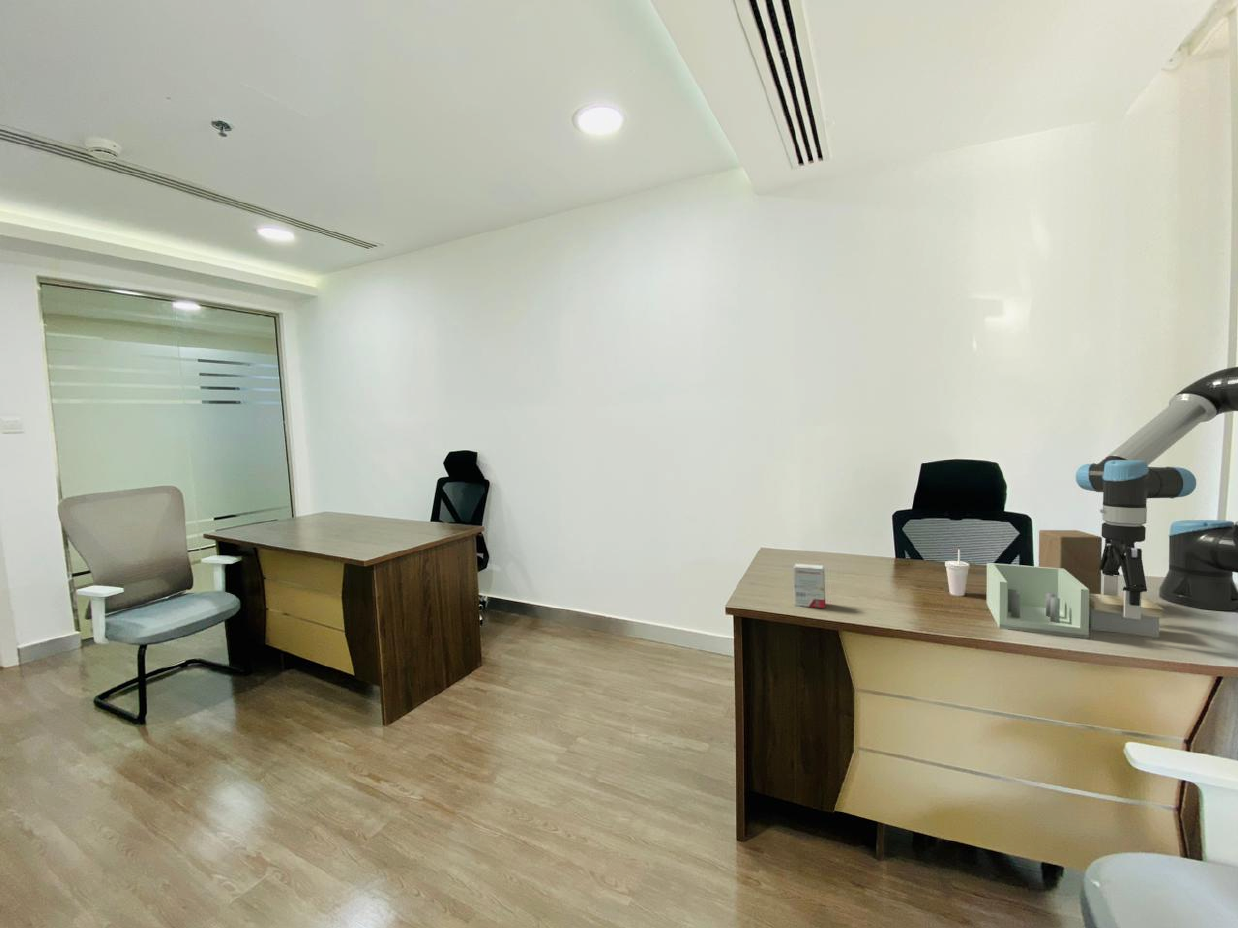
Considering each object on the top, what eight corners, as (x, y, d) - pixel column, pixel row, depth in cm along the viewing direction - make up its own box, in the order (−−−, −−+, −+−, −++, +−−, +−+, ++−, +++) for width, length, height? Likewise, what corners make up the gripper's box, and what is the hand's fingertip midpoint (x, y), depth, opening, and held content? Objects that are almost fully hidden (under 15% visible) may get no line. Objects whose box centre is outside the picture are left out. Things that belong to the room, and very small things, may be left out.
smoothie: (962, 598, 148) (962, 552, 147) (940, 593, 154) (940, 548, 153) (974, 594, 151) (974, 549, 150) (952, 589, 157) (952, 545, 156)
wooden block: (1101, 608, 137) (1102, 536, 136) (1059, 606, 139) (1060, 536, 138) (1076, 596, 147) (1077, 529, 146) (1037, 595, 149) (1038, 529, 148)
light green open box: (1063, 611, 135) (1063, 568, 135) (1088, 639, 118) (1089, 589, 117) (986, 603, 143) (986, 562, 143) (999, 627, 126) (999, 581, 125)
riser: (1151, 631, 121) (1151, 609, 121) (1158, 637, 117) (1159, 614, 117) (1085, 623, 127) (1086, 602, 126) (1091, 629, 123) (1091, 607, 123)
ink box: (825, 603, 148) (825, 564, 148) (825, 608, 144) (824, 569, 143) (795, 600, 152) (794, 562, 151) (793, 605, 147) (793, 566, 147)
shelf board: (1148, 606, 122) (1148, 598, 122) (1163, 617, 115) (1163, 609, 115) (1083, 600, 128) (1083, 592, 128) (1094, 610, 121) (1094, 602, 121)
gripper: (1085, 515, 133) (1083, 592, 134) (1123, 531, 111) (1119, 623, 113) (1123, 516, 130) (1120, 596, 131) (1170, 533, 108) (1166, 629, 109)
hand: (1120, 609), depth 122 cm, fingers open, 13 cm apart
